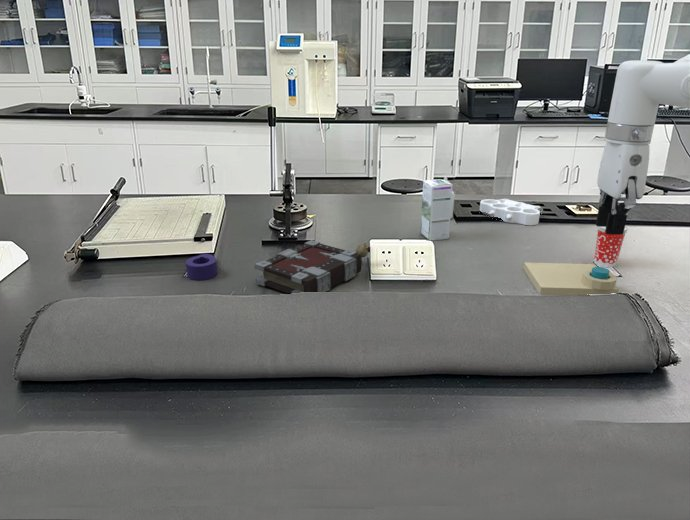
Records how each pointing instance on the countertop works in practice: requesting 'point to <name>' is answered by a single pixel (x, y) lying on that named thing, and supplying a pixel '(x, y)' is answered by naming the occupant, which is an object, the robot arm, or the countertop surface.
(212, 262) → the purple thick ring
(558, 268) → the scale
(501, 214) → the white tube rack
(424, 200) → the syrup box
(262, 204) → the countertop surface
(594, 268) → the button
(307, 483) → the countertop surface
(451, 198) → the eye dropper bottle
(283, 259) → the book
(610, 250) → the beverage cup
